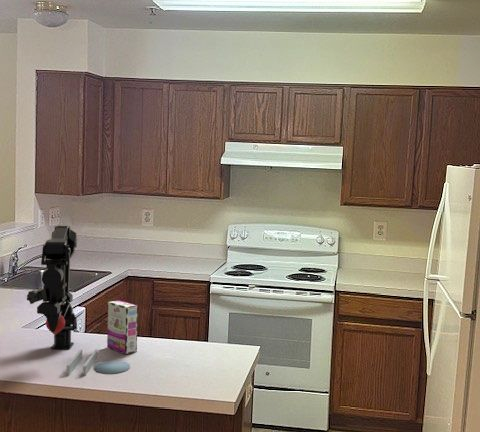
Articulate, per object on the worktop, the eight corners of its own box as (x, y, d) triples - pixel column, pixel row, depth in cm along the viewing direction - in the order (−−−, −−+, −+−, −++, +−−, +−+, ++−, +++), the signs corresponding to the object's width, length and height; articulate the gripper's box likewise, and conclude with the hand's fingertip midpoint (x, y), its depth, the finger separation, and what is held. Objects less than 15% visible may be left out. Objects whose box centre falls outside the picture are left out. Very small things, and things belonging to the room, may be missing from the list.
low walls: (79, 358, 218) (79, 349, 218) (97, 359, 218) (97, 350, 218) (66, 374, 202) (66, 365, 202) (85, 375, 202) (85, 366, 202)
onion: (66, 331, 212) (66, 307, 211) (62, 337, 206) (62, 312, 206) (48, 331, 212) (48, 307, 211) (43, 336, 206) (43, 311, 205)
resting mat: (99, 361, 216) (99, 360, 216) (132, 362, 216) (132, 361, 215) (91, 373, 205) (91, 371, 205) (126, 374, 205) (126, 372, 205)
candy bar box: (137, 352, 227) (138, 305, 225) (126, 354, 223) (126, 307, 222) (118, 344, 235) (118, 299, 233) (106, 347, 231) (107, 301, 229)
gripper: (39, 274, 217) (39, 320, 218) (20, 286, 198) (20, 336, 200) (73, 275, 217) (72, 321, 218) (56, 287, 198) (56, 338, 200)
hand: (55, 329), depth 209 cm, fingers closed on onion, 6 cm apart
